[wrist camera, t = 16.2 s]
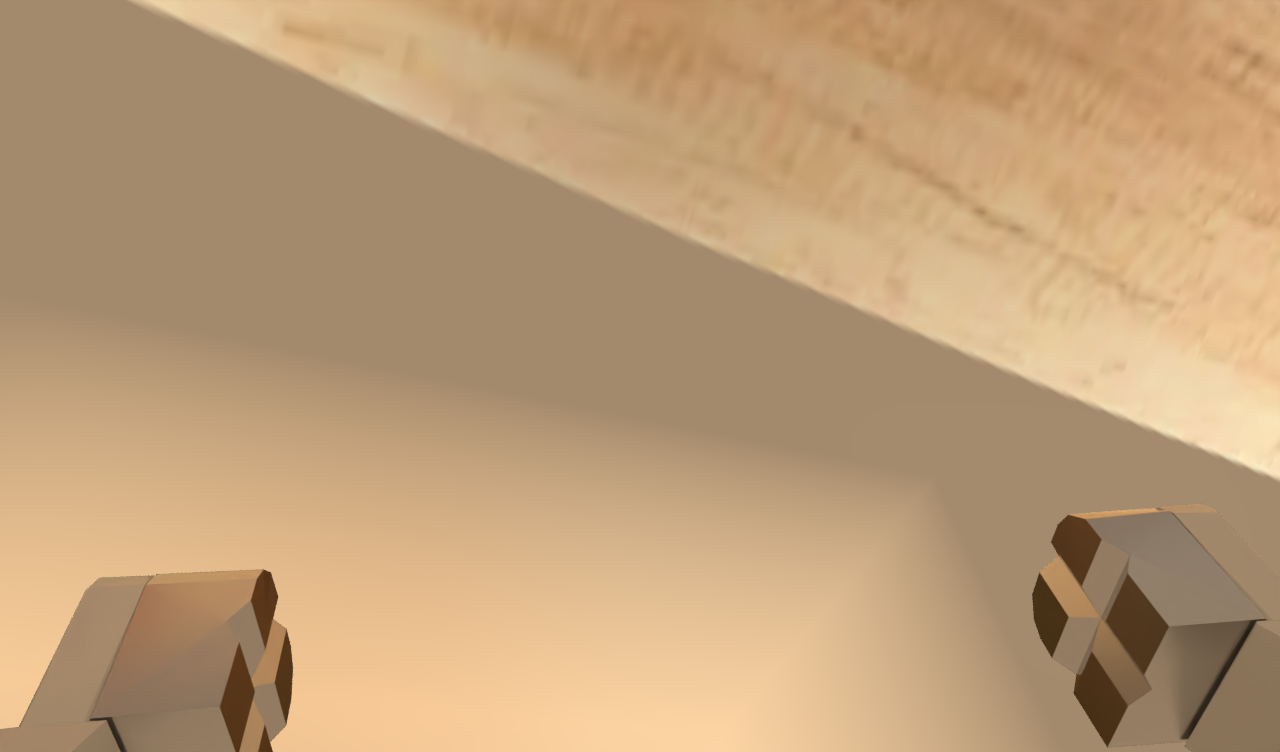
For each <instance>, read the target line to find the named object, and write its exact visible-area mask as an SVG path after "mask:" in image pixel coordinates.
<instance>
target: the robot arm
mask: <svg viewBox="0 0 1280 752" xmlns="http://www.w3.org/2000/svg"><path fill="white" fill-rule="evenodd" d="M1051 543H1052V545H1053V547H1054V548H1055V550H1056V552H1057V554H1058V557H1057V558H1055V559H1054V560H1053V561H1052V562H1051V563H1050V564H1048V565H1047V566H1046V567H1045V568H1044V569H1042V570H1041V571H1040V572H1039V575H1038V578H1037V581H1036V585H1035V587H1034V590H1033V594H1032V600H1033V614H1034V621H1035V624H1036V627H1037V630H1038V633H1039V636H1040V639H1041V640H1042V642H1043V644H1044V645H1045V647H1046V649H1047V651H1048V652H1049V654H1050V656H1051V657H1052V658H1053V659H1054V660H1056V661H1057V662H1059V663H1060V664H1062V665H1063V666H1065V667H1066V668H1068V669H1069V670H1071V671H1072V672H1074V673H1075V674H1076V680H1075V686H1074V695H1075V696H1076V698H1077V700H1078V701H1079V703H1080V704H1081V706H1082V708H1083V709H1084V711H1085V712H1086V714H1087V716H1088V717H1089V719H1090V720H1091V722H1092V724H1093V725H1094V727H1095V729H1096V730H1097V732H1098V733H1099V735H1100V736H1101V738H1102V740H1103V741H1104V743H1105V744H1106V746H1107V748H1109V747H1123V746H1137V745H1150V744H1165V743H1177V742H1178V743H1179V742H1186V744H1185V747H1186V748H1187V749H1188V750H1190V751H1191V752H1280V576H1279V575H1278V574H1277V573H1276V572H1275V571H1274V570H1273V569H1272V568H1271V567H1270V566H1269V565H1268V563H1267V562H1266V561H1265V560H1264V559H1263V558H1261V556H1260V555H1259V554H1258V553H1257V552H1256V551H1255V550H1254V549H1253V548H1252V547H1251V546H1250V545H1249V544H1248V543H1247V542H1246V541H1245V539H1244V538H1243V537H1242V536H1241V535H1240V534H1239V533H1238V532H1237V531H1236V530H1235V529H1234V528H1233V527H1232V526H1231V525H1230V524H1229V523H1228V522H1227V521H1226V520H1225V519H1224V518H1223V517H1222V515H1220V513H1219V512H1217V511H1215V510H1214V509H1212V508H1209V507H1208V506H1206V505H1203V504H1197V505H1183V506H1171V507H1158V508H1156V509H1151V508H1147V509H1134V510H1121V511H1108V512H1096V513H1082V514H1070V515H1067V516H1066V517H1065V518H1064V519H1063V520H1062V521H1061V522H1060V523H1059V524H1058V525H1057V528H1056V530H1055V533H1054V536H1053V538H1052V541H1051ZM277 600H278V594H277V591H276V588H275V584H274V581H273V578H272V574H271V572H268V571H266V570H263V569H261V570H240V571H217V572H196V573H195V572H194V573H171V574H156V575H154V576H129V577H103V578H99V579H98V580H96V581H95V582H94V583H93V584H92V585H91V586H90V587H89V588H88V589H87V590H86V591H85V593H84V595H83V597H82V599H81V601H80V603H79V605H78V607H77V609H76V611H75V613H74V615H73V618H72V619H71V621H70V624H69V625H68V627H67V629H66V632H65V633H64V636H63V638H62V640H61V642H60V644H59V646H58V648H57V650H56V652H55V654H54V656H53V658H52V660H51V662H50V664H49V666H48V668H47V670H46V672H45V674H44V677H43V679H42V681H41V682H40V685H39V687H38V689H37V691H36V693H35V695H34V697H33V699H32V701H31V703H30V705H29V707H28V709H27V711H26V713H25V715H24V717H23V719H22V721H21V723H20V725H19V727H15V728H6V729H0V752H273V751H272V747H271V744H270V742H271V741H272V739H274V738H275V737H276V736H277V734H279V732H280V731H281V730H282V729H283V728H284V727H285V726H286V724H287V718H288V714H289V708H290V703H291V695H292V678H293V663H292V653H291V645H290V641H289V637H288V633H287V629H286V628H285V627H283V626H282V625H281V624H279V623H278V622H276V621H275V620H274V619H273V617H274V612H275V609H276V604H277Z"/></svg>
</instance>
